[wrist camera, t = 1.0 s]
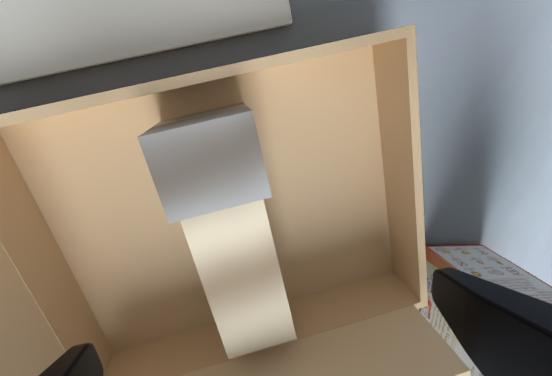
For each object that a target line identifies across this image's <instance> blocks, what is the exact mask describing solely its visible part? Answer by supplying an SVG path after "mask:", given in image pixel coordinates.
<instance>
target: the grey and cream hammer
mask: <svg viewBox="0 0 552 376" xmlns="http://www.w3.org/2000/svg"><path fill="white" fill-rule="evenodd" d="M137 138H138V141H139V144H140V146H141V149H142V152H143V154H144V157H145V160H146V163H147V165H148V168H149V171H150V174H151V176H152V179H153V182H154V184H155V187H156V190H157V193H158V195H159V198H160V201H161V204H162V206H163V209H164V212H165V214H166V217H167V220H168V223H169V224H170V223H174V222H178V221H180V223H181V225H182V228H183V231H184V234H185V237H186V240H187V243H188V245H189V248H190V251H191V254H192V257H193V260H194V262H195V265H196V268H197V271H198V274H199V277H200V280H201V282H202V285H203V288H204V291H205V294H206V297H207V299H208V302H209V305H210V308H211V311H212V314H213V317H214V319H215V322H216V325H217V328H218V331H219V334H220V336H221V339H222V342H223V345H224V348H225V351H226V354H227V356H228V359H232V358H235V357H238V356H242V355H245V354H248V353H252V352H255V351H258V350H262V349H265V348H268V347H272V346H275V345H278V344H281V343H285V342H288V341H291V340H295V339H297V337H296V333H295V329H294V325H293V320H292V316H291V312H290V308H289V304H288V300H287V295H286V291H285V287H284V283H283V279H282V275H281V270H280V266H279V262H278V258H277V254H276V250H275V245H274V241H273V237H272V233H271V229H270V225H269V220H268V216H267V212H266V208H265V204H264V200H263V199H267V198H271V197H272V194H271V190H270V185H269V181H268V177H267V172H266V168H265V163H264V159H263V155H262V150H261V146H260V142H259V137H258V133H257V128H256V124H255V120H254V115H253V111H252V110H251V109H250V108H249V107H248V106H247V105H246V104H245V103H244V102H243V103H238V104H234V105H230V106H225V107H221V108H217V109H212V110H208V111H204V112H199V113H195V114H190V115H186V116H182V117H177V118H173V119H169V120H164V121H160V122H159V123H157V124H156V125H154V126H153V127H152V128H150V129H149V130H147V131H146V132H144V133H143V134H141V135H140V136H138V137H137Z"/></svg>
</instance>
